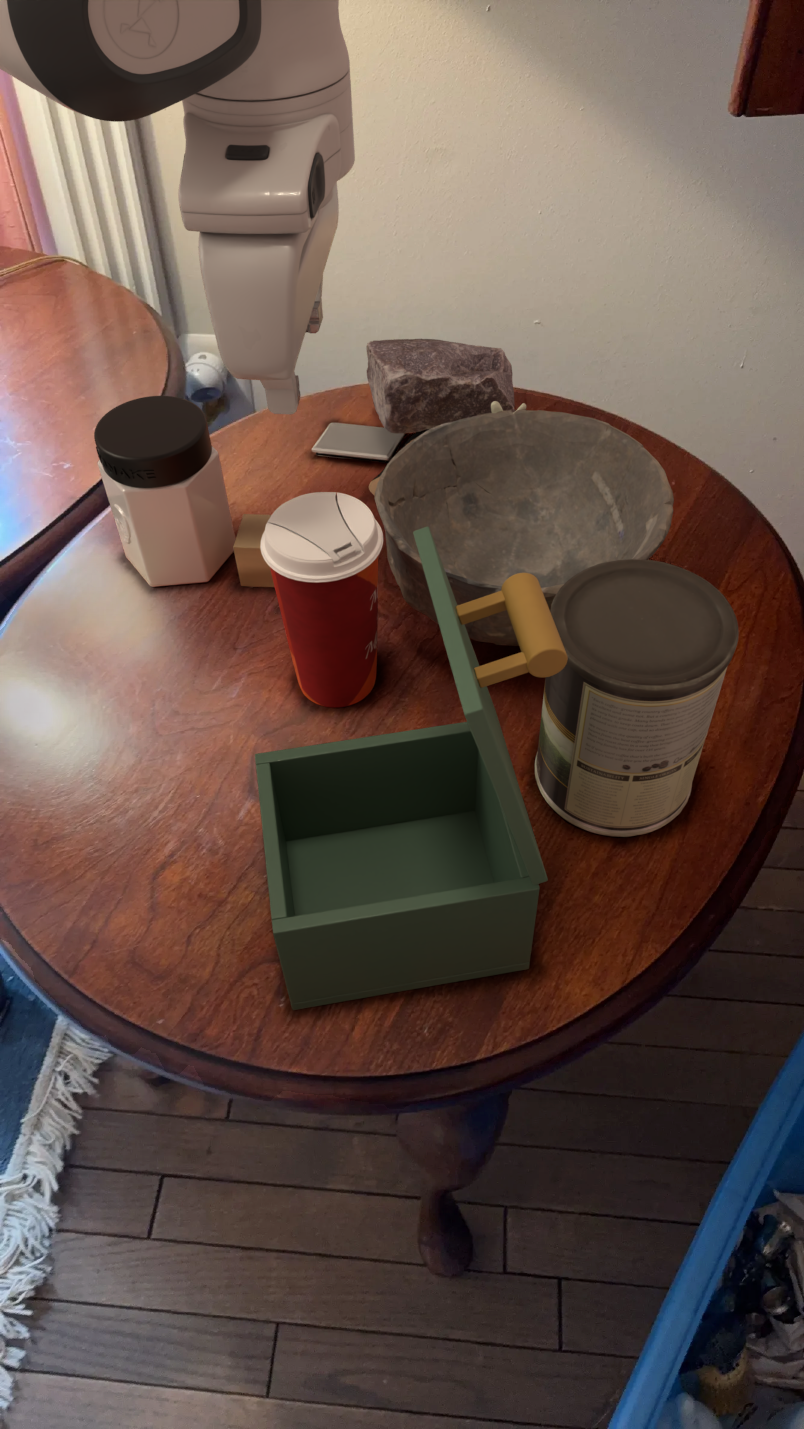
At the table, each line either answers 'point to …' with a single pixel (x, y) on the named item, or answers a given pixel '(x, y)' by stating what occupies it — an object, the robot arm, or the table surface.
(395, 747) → the chest
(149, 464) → the jar
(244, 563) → the block
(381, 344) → the rock
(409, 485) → the bowl
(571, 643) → the coffee can
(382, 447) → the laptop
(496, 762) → the lid
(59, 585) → the table surface
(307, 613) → the paper cup
